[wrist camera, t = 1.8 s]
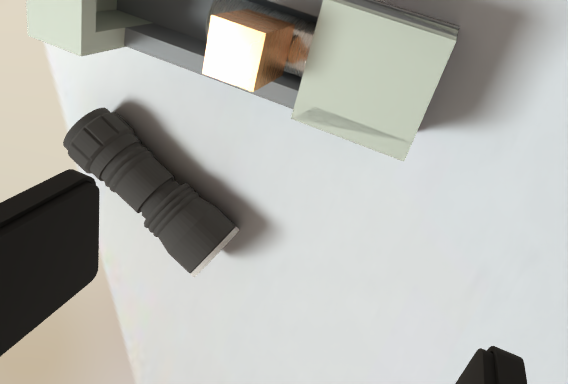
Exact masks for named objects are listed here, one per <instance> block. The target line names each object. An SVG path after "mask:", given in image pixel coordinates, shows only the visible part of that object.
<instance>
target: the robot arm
mask: <svg viewBox="0 0 568 384" xmlns="http://www.w3.org/2000/svg"><path fill="white" fill-rule="evenodd" d="M98 249H99V188H98V187H97V186H96V183H95V180H94V179H93V178H92V177H90V176H87V175H85V174H82V173H80V172H78V171H75V170H70V169H69V170H66V171H64V172H62V173H60V174H58V175H56V176H54V177H52V178H50V179H48V180H46V181H44V182H42V183H40V184H38V185H36V186H34V187H32V188H30V189H28V190H26V191H24V192H22V193H19V194H17V195H16V196H13V197H11V198H9V199H7V200H5V201H4V202H1V203H0V356H1V355H2V354H3V353H5V352H6V351H7V350H9V349H10V348H11V347H12V346H14V345H15V344H16V343H17V342H18V341H20V340H21V339H22V338H23V337H24V336H26V335H27V334H28V333H29V332H30V331H32V330H33V329H34V328H35V327H37V326H38V325H39V324H40V323H42V322H43V321H44V320H45V319H46V318H48V317H49V316H50V315H51V314H52V313H54V312H55V311H56V310H57V309H58V308H60V307H61V306H62V305H63V304H65V303H66V302H67V301H68V300H69V299H71V298H72V297H73V296H74V295H76V293H78V292H79V291H80V290H82V289H83V288H84V287H85V286H86V285H88V284H89V283H90V282H91V281H92V280H93V279H94V277H95V276H96V274H97V271H98ZM456 384H527V380H526V373H525V366H524V362H523V359H522V358H521V357H519V356H516V355H514V354H512V353H509V352H507V351H504V350H502V349H500V348H497V347H495V346H491V347H490V348H489V349H488V350H487V351H486V350H484V349H481V348H480V349H478V350H477V352H476V353H475V354H474V356H473V357H472V359H471V361H470V362H469V364H468V365H467V367H466V368H465V370H464V371H463V373H462V374H461V376H460V377H459V379H458V381H457V382H456Z"/></svg>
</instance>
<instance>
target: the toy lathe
mask: <svg viewBox="0 0 568 384" xmlns="http://www.w3.org/2000/svg"><path fill="white" fill-rule="evenodd" d="M213 1H214V0H26V6H27V27H28V36H30V37H33V38H35V39H38V40H40V41H43V42H45V43H48V44H50V45H53V46H56V47H58V48H61V49H63V50H66V51H68V52H71V53H74V54H76V55H79V56H85V55H90V54H94V53H99V52H103V51H108V50H113V49H117V48H122V47H129V48H132V49H134V50H137V51H140V52H142V53H145V54H148V55H150V56H153V57H156V58H158V59H161V60H164V61H166V62H169V63H172V64H174V65H177V66H180V67H182V68H185V69H188V70H190V71H193V72H196V73H198V74H201V75H204V76H206V77H209V78H212V79H214V80H217V81H220V82H222V83H225V84H228V85H230V86H233V87H236V88H238V89H241V90H244V91H246V92H249V93H252V94H254V95H257V96H260V97H262V98H265V99H268V100H270V101H273V102H276V103H278V104H281V105H284V106H286V107H289V108H292V109H293V113H292V116H291V119H293V120H296V121H299V122H301V123H304V124H307V125H309V126H312V127H315V128H317V129H320V130H322V131H325V132H328V133H330V134H333V135H336V136H338V137H341V138H343V139H346V140H349V141H351V142H354V143H357V144H359V145H362V146H364V147H367V148H370V149H372V150H375V151H378V152H380V153H383V154H386V155H388V156H391V157H393V158H396V159H399V160H401V161H404V160H405V158H406V156H407V154H408V151H409V149H410V147H411V144H412V142H413V140H414V137H415V135H416V133H417V131H418V128H419V126H420V124H421V121H422V119H423V117H424V114H425V112H426V110H427V108H428V105H429V103H430V101H431V98H432V96H433V94H434V91H435V89H436V87H437V85H438V82H439V80H440V78H441V75H442V73H443V71H444V68H445V66H446V64H447V61H448V59H449V57H450V55H451V52H452V50H453V48H454V45H455V43H456V41H457V35H458V30H459V26H456V25H452V24H449V23H446V22H443V21H440V20H436V19H433V18H430V17H427V16H424V15H421V14H417V13H414V12H411V11H408V10H405V9H401V8H398V7H395V6H392V5H389V4H385V3H382V2H379V1H376V0H246V1H249V2H252V3H255V4H258V5H261V6H264V7H267V8H270V9H273V10H276V11H279V12H282V13H285V14H288V15H291V16H294V17H297V18H300V19H303V20H306V21H309V22H312V23H315V24H316V28H315V32H314V35H313V39H312V43H311V47H310V50H309V54H308V58H307V61H306V65H305V69H304V72H303V76H302V77H300V76H297V75H295V74H292V73H289V72H286V71H284V72H283V76H281V77H279V78H277V79H275V80H274V81H272V82H270V83H268V84H267V85H265V86H263V87H261V88H259V89H258V90H256V91H254V92H252V91H249V90H246V89H244V88H241V87H238V86H236V85H233V84H230V83H228V82H225V81H222V80H220V79H217V78H214V77H212V76H209V75H206V74H204V73H203V66H204V60H205V53H206V47H207V37H206V21H207V16H208V12H209V10H210V7H211V5H212V3H213Z"/></svg>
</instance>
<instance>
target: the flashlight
mask: <svg viewBox="0 0 568 384" xmlns="http://www.w3.org/2000/svg"><path fill="white" fill-rule="evenodd" d="M63 143H64V147H65V148H66V149H67V150H68V154H69V156H70V157H71V158H72V159H73V160H74V161H75V162H76V163H77V164H78V165H79V166H80V167H81V168H82V169H83V170H84V171H85V172H86V173H93V174H94V175H95V176H96V177H97V178H98V179H99V180H100V181H104V182H105V185H106V186H107V187H110V190H111V191H113V192H116V193H117V194H118V195H119V196H120V197H121V198H122V199H123V200H124V201H125V202H127V203H128V204H129V205H130V206H131V207H132V208H133V209H134V210H135V211H136V212H137V213H140V212H142V216H143V217H144V218H146V220H145V222H144V226H145V227H146V228H149V231H150V232H153V233H154V236H156V237H159V239H160V240H161V242H162V244H163V245H164V247H165V248H166V250H167V252H168V253H169V254H170V255H171V256H172V257H173V258H174V259H175V260H176V261H177V262H178V263H179V264H180V265H181V266H183V267H184V268H185V269H186V270H187V271H188V272H189V273H190V274H191V275H192V276H193V277H195V276H196V275H197V274H198V273H199V272H200V271H201V270H202V269H203V268H204V267H205V266H206V265H207V264H208V263H209V262H210V261H211V260H212V259H213V258H214V257H215V256H216V255H217V254H218V253H219V252H220V251H221V250H222V249H223V248H224V247H225V246H226V244H227V243H228V242H229V241H230V240H231V239H232V238H233V237H234V236H235V235H236V234H237V233H238V231H239V229H238V228H237V227H235V225H234V224H233V223H232V222H231V221H230V220H229V219H228V218H227V217H226V216H225V215H224V214H223V213H222V212H221V211H220V210H219V209H218V208H217V207H216V206H214V205H212V204H211V203H209V202H207V201H205V200H204V199H202V198H200V197H199V194H198V193H196V192H194V189H193V188H190V186H189V184H182V185H180V184H179V183H178V182H177V181H175V182H174V178H175V177H174V176H173V175H172V174H171V173H170V172H169V171H168V170H167V169H165V168H164V167H163V166H162V165H161V164H160V163H159V162H158V161H157V160H156V159H155V158H154V157H153V154H152V152H149V151H148V150H147V148H146V147H143V146H142V143H141V141H140V140H139V139H138V138H137V137H136V136H135V135H134V130H133V129H132V128H131V127H130V126H129V125H128V124H127V123H126V122H125V121H124V120H123V119H122V118H121V117H120V116H119V115H118V114H117V113H111V112H110V111H108V110H107V109H106V108H99V109H96V110H94V111H92V112H90V113H88V114H87V115H85V116H84V117H82V118H81V119H80V120H79V121H78V122H77V123H76V124H75V125H74V126H73V127H72V128H71V129H70V130H69V132H68V133H67V135H66V137H65V139H64V142H63Z"/></svg>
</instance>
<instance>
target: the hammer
mask: <svg viewBox="0 0 568 384" xmlns="http://www.w3.org/2000/svg"><path fill="white" fill-rule="evenodd" d="M315 28H316V24H315V23H312V22H309V21H306V20H303V19H300V18H297V17H294V16H291V15H288V14H285V13H282V12H279V11H276V10H273V9H270V8H267V7H264V6H261V5H258V4H255V3H252V2H249V1H246V0H214V1H213V3H212V5H211V7H210V10H209V12H208V16H207V21H206V37H207V47H206V53H205V60H204V66H203V73H204V74H206V75H209V76H212V77H214V78H217V79H220V80H222V81H225V82H228V83H230V84H233V85H236V86H238V87H241V88H244V89H246V90H249V91H252V92H254V91H256V90H258V89H259V88H261V87H263V86H265V85H267V84H268V83H270V82H272V81H274V80H275V79H277V78H279V77H281V76H283V72H284V71H286V72H289V73H292V74H295V75H297V76H300V77H302V76H303V72H304V69H305V65H306V61H307V58H308V54H309V50H310V47H311V43H312V39H313V35H314V32H315Z"/></svg>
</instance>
